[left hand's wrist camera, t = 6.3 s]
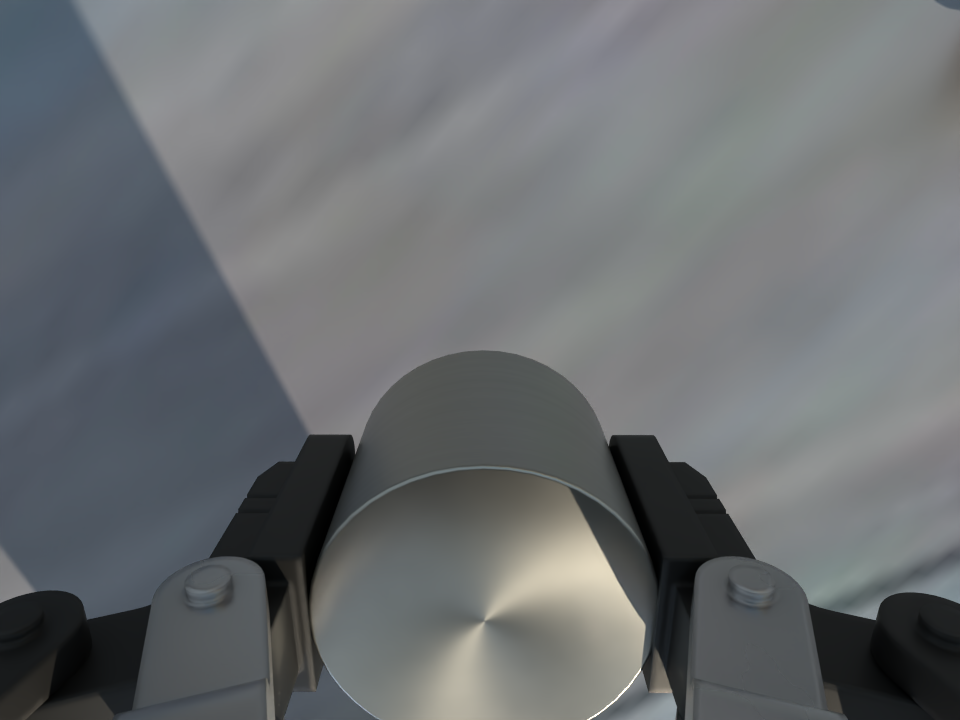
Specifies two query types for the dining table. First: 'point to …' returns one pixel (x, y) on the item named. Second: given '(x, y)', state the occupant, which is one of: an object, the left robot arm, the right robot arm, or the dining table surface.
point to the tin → (483, 553)
